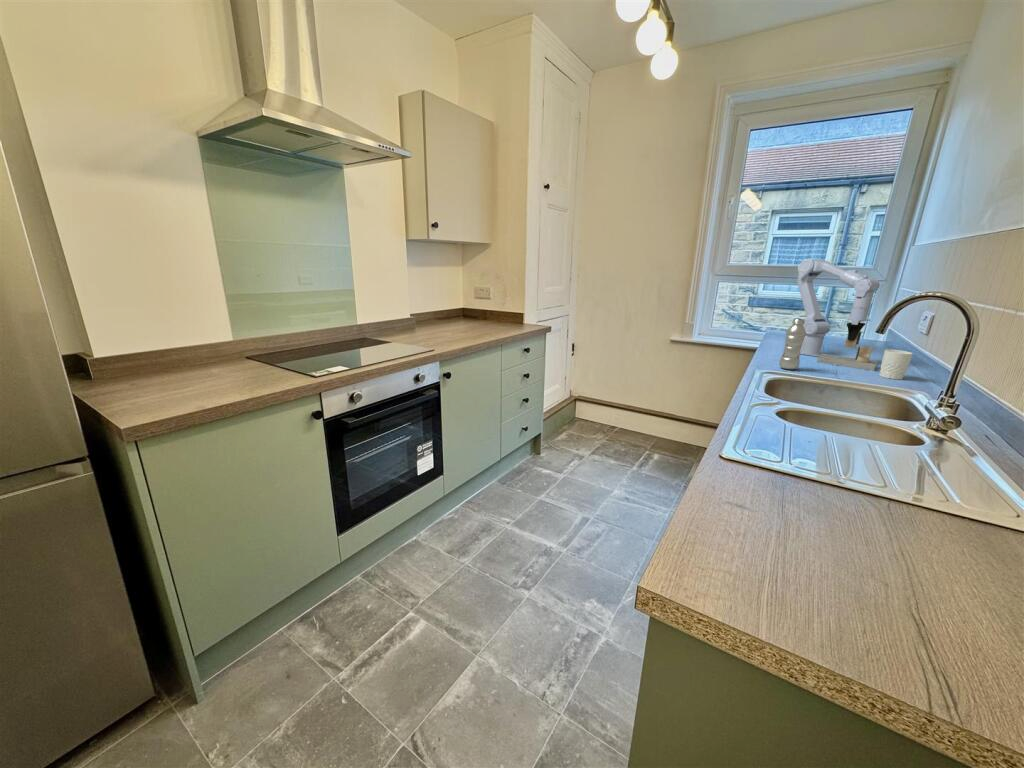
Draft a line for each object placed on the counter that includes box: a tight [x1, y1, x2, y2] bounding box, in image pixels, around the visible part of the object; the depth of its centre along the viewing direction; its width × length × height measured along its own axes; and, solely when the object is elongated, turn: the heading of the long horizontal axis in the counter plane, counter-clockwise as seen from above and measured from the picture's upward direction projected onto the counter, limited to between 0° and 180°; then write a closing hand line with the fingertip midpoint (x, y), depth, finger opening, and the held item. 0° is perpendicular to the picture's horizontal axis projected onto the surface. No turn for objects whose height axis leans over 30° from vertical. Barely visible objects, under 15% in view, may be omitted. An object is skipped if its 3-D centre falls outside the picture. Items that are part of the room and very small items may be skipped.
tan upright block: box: [855, 345, 873, 363], centre depth 168 cm, size 4×4×7 cm
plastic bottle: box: [778, 317, 806, 370], centre depth 160 cm, size 6×7×20 cm
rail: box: [816, 353, 878, 372], centre depth 173 cm, size 19×8×3 cm, turn 45°
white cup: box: [878, 349, 914, 380], centre depth 154 cm, size 8×8×10 cm
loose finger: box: [844, 331, 863, 349], centre depth 174 cm, size 4×4×7 cm
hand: (851, 339), depth 175 cm, fingers closed on loose finger, 4 cm apart
